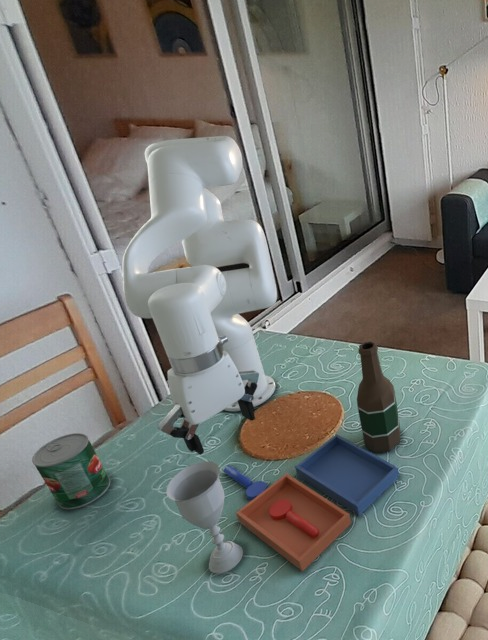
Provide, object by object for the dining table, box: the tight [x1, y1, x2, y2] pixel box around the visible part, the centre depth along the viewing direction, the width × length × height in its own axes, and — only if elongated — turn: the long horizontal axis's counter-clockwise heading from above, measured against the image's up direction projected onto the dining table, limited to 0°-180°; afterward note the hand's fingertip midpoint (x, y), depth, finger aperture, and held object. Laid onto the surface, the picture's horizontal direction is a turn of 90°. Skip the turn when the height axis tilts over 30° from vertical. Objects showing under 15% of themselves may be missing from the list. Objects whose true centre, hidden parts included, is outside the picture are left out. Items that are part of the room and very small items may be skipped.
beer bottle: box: [356, 341, 401, 454], centre depth 100 cm, size 8×8×24 cm
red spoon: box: [269, 499, 319, 538], centre depth 87 cm, size 12×4×2 cm, turn 58°
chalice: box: [166, 460, 244, 575], centre depth 78 cm, size 7×7×18 cm
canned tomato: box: [31, 432, 111, 510], centre depth 92 cm, size 8×8×11 cm
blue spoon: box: [223, 465, 269, 501], centre depth 95 cm, size 12×4×2 cm, turn 58°
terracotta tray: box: [235, 473, 352, 572], centre depth 87 cm, size 17×10×2 cm, turn 58°
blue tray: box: [294, 433, 400, 517], centre depth 96 cm, size 17×10×2 cm, turn 58°
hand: (224, 433), depth 91 cm, fingers open, 9 cm apart
